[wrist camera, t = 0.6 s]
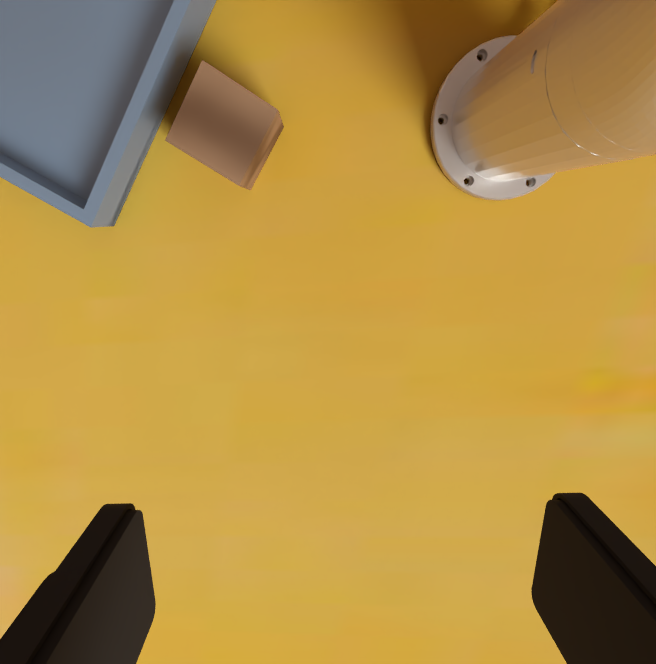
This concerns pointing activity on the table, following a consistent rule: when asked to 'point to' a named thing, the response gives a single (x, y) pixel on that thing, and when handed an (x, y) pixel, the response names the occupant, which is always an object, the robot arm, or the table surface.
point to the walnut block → (225, 126)
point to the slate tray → (88, 94)
